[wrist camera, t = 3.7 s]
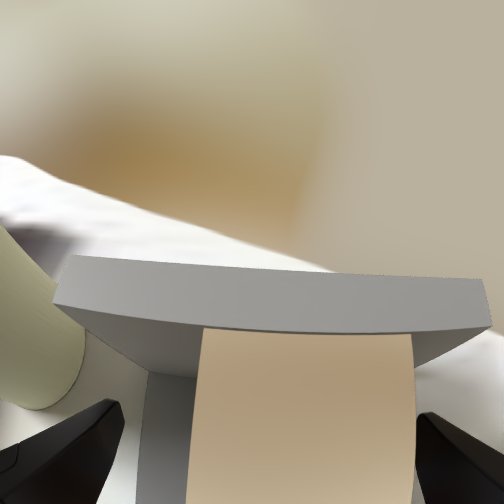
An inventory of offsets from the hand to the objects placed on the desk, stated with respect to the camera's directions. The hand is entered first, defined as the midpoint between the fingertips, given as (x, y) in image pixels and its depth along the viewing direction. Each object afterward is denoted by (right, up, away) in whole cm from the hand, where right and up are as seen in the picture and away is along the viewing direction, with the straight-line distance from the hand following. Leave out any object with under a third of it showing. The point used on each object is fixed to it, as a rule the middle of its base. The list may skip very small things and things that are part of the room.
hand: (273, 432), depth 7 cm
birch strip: (0, -4, +5) cm, 6 cm away
